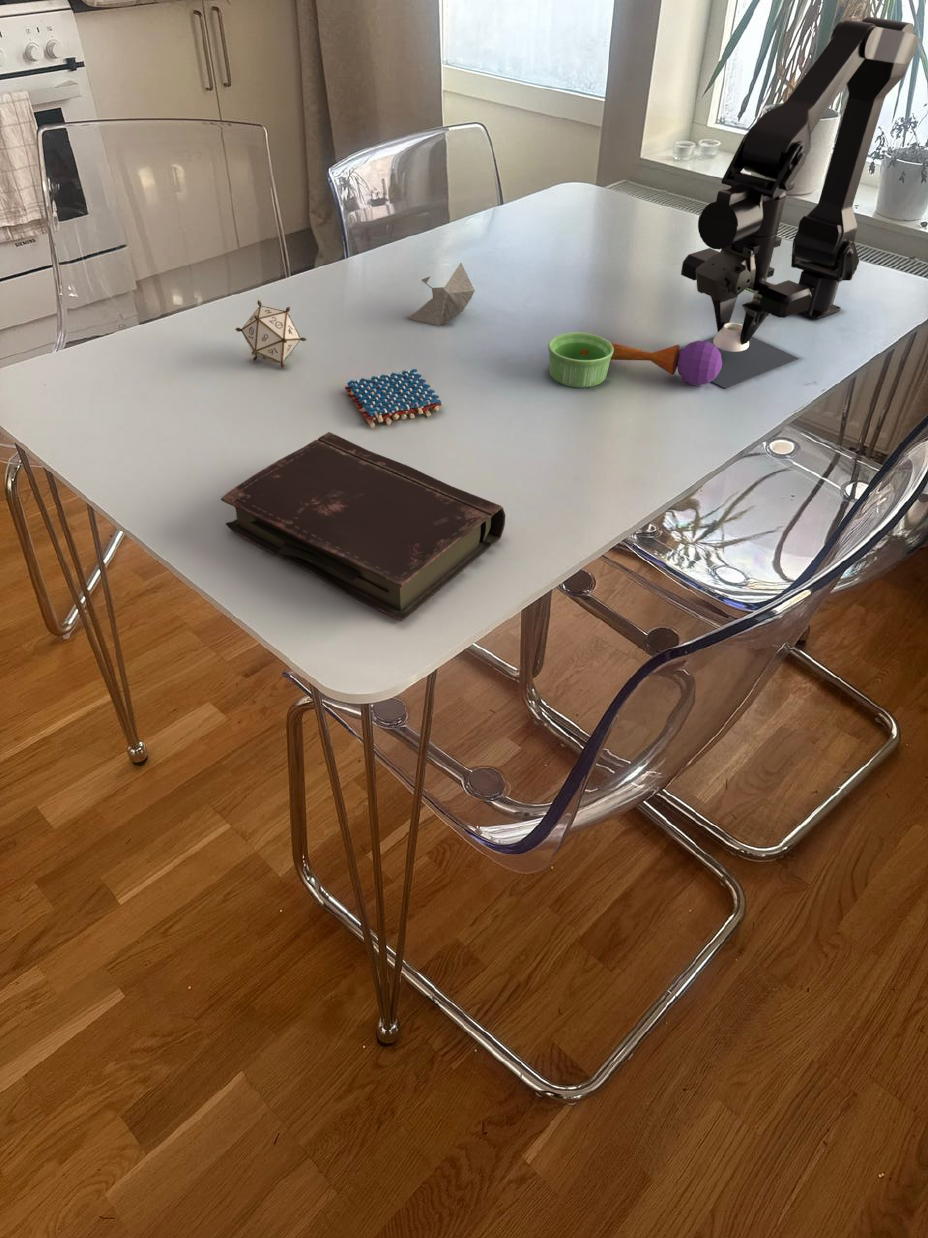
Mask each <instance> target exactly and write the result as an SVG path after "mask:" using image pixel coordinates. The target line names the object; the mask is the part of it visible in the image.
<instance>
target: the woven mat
mask: <svg viewBox="0 0 928 1238" xmlns="http://www.w3.org/2000/svg"><path fill="white" fill-rule="evenodd" d="M417 372H418V369H417V368H413V369H411V370H404V369H403V370H402V371H400V372H398V373H396V372H393V371H391V373H388V374H383V373H382V374H381V375H377V376H375V375H372V376H371V377H368V378H364V377H361V378H360V379H356V380H354V379H351V380H350V381H347V382H346V384H347V385H346V386H344V389H345V391H346V393H347V397H349V398H351V401H352V403H354V404H355V406H356V407H357V409H358V410H359V414H361V415H362V416H363V418H364V420H366V422H367V423H368V425H369V426H370V427H371V428H372V429H373V428H374V427H376V423H375V422H378V423H379V424H380V423H383V422H384V421H385V423H386V424H387V425H388V426H389V425H392V422H393V421H392V419H393V420H395V421H396V420H398V419H399V418H400V417H401V419H402V420H406V419H407V416H408V417H409V419H414V418H415V416H416V415H422V414H425V416H426V417H430V416H432V414H431V412H430V410H429V409H431V410H432V411H433V412H435V413H437V412H438V411H439V409H440V407H442V401H441V400H440V399H439V398H440V396H439V395H437V394H435V390H434V389H431V385H430V384H427V383H426V381H427V380H426V379H425V378H422V374H421V373H417ZM429 388H430V389H429ZM415 414H416V415H415ZM390 417H391V418H390ZM374 421H375V422H374Z"/></svg>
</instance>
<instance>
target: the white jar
mask: <svg viewBox="0 0 928 1238" xmlns="http://www.w3.org/2000/svg"><path fill="white" fill-rule="evenodd" d="M742 327H743V324H741V323H739V322H729V323H727V324H725V325H724V326H723V328H722V329H721V330H720V331H719V332H718V331H717V333H716V334H715V336H713V337H714V340H713V343H714V345H715V346H716V347H718V348H720V349H722V350H725V351H729V352H739V351H743V350H746V349H747V348H748V347H749V341H748V342H747V343H746V344H743V345H742V344H741V341H740V335H741V331H742Z"/></svg>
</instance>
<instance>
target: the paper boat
mask: <svg viewBox="0 0 928 1238" xmlns="http://www.w3.org/2000/svg"><path fill="white" fill-rule="evenodd" d="M430 278H431V276H430V275H429V276H427V277H424V278H421V279H420V281H421V282H423V283H424V284H426V286H427V287H429V288H430V289H431V293H432V297H431V299H429V300H428V301H427V302H425V304H423V305H422V306H421V307H420V308H419V309H418V310H416V311H415V312H414V313H413V314H412V315H411V316H409V317H408V319H409V320H413V321H418V322H422V323H426V324H430V325H431V324H432V325H435V326H443V325H445V324H447V323H449V322H450V321H451V320H453V319H454V318H456V317H458V316H459V315H460V314H462V313H463V312H464V310H465V309H466V307H467V306H468V304H469V303H470V301H471V299H472V298H473V295H474V293H475V291H476V290H475V288H474V286H473V283H472V282H471V279H470V278H469V276H468V274H467V272H466V269H465V268H464V266H463V264H462V262H460V263H459V265H458V266H457V268H455V270H454V272H453V273H452V275H451V277H450V278H449V280H447V282H446V284H445V285H444V286H443V287H432V286H431V285H430V284H428V282H429V280H430Z"/></svg>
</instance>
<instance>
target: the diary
mask: <svg viewBox="0 0 928 1238" xmlns="http://www.w3.org/2000/svg"><path fill="white" fill-rule="evenodd" d="M220 501H221V502H223V503H225V504H227V505H229V506H232V507H233V508H234V509H235V514H236V519H234V520H233V521H229V522H225V526H226V527H227V528H229V530H230V531H232V532H233V533H236V534H237V535H239V536H241V537H242V538H243V539H245V540H247V541H249V542H251V543H253V544H255V545H256V546H258V547H260V548H262V549H264V550H265V551H267V552H268V553H271V554H273V555H275V556H277V557H279V558H281V559H283V560H285V561H288V562H290V563H292V564H294V565H296V566H298V567H300V568H303V569H305V570H307V571H308V572H310V573H312V574H313V575H315V576H317V577H318V578H320V579H322V580H323V581H325V582H327V583H328V584H330V585H331V586H333V587H335V588H337V590H340V591H341V592H343V593H344V594H346V595H348V596H349V597H351V598H353V599H355V600H356V601H359V602H361V603H363V604H365V605H368V606H370V607H372V608H374V609H376V610H378V611H380V612H382V613H384V614H387V615H389V616H390V617H393V618H395V619H397V620H399V621H401V622H403V621H404V620H406V619H407V618H408V617H409V616H410V615H412V614H413V613H414V612H415V611H416V610H418V609H419V608H420V607H421V606H422V605H424V603H426V602H427V601H428V600H430V599H431V598H432V597H433V596H434V595H436V594H437V593H438V592H439V591H440V590H441V589H442V588H444V587H445V586H447V584H449V583H450V582H451V581H453V579H454V578H456V577H457V576H458V575H459V574H460V573H462V572H463V571H464V570H465V569H466V568H468V567H469V566H470V565H472V564H473V563H474V562H475V561H476V560H477V559H478V558H479V557H481V556H482V555H484V554H485V553H486V552H487V551H488V550H489V549H490V548H491V547H492V546H494V545H495V544H496V543H497V542H498V541H500V540H501V538H502V536H503V534H504V530H505V526H506V511H505V510H504V507H503V506H502V505H501V504H499V503H496V502H493V501H491V500H487V499H485V498H483V497H480V496H478V495H475V494H472V493H470V492H467V491H465V490H463V489H461V488H457V487H455V486H453V485H450V484H448V483H447V482H443V481H441V480H439V479H437V478H435V477H433V476H431V475H429V474H427V473H425V472H423V471H420V470H418V469H416V468H414V467H411V466H409V465H407V464H404V463H401V462H399V461H396V460H394V459H391V458H389V457H387V456H383V455H381V454H378V453H376V452H374V451H371V450H369V449H366V448H364V447H362V446H360V445H359V444H356V443H354V442H351V441H349V440H348V439H345V438H343V437H342V436H339V435H337V434H335V433H333V432H330V431H328V432H326V433H324V434H323V435H321V436H319V437H318V438H317V439H314V440H312V441H311V442H309V443H308V444H306V445H304V446H303V447H301V448H299V449H297V450H295V451H293V452H291V453H290V454H288V455H286V456H284V457H281V458H280V459H278V460H276V461H275V462H273V463H271V464H270V465H268V466H267V467H265V468H263V469H261V470H260V471H258V472H257V473H255V474H253V475H252V476H250V477H249V478H247V479H246V480H244V481H243V482H241V483H239V484H238V485H236V486H235V487H233V488H232V489H231V490H229V491H228V492H226V493H225V494H224V495H223V496H222V497H221V498H220Z"/></svg>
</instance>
